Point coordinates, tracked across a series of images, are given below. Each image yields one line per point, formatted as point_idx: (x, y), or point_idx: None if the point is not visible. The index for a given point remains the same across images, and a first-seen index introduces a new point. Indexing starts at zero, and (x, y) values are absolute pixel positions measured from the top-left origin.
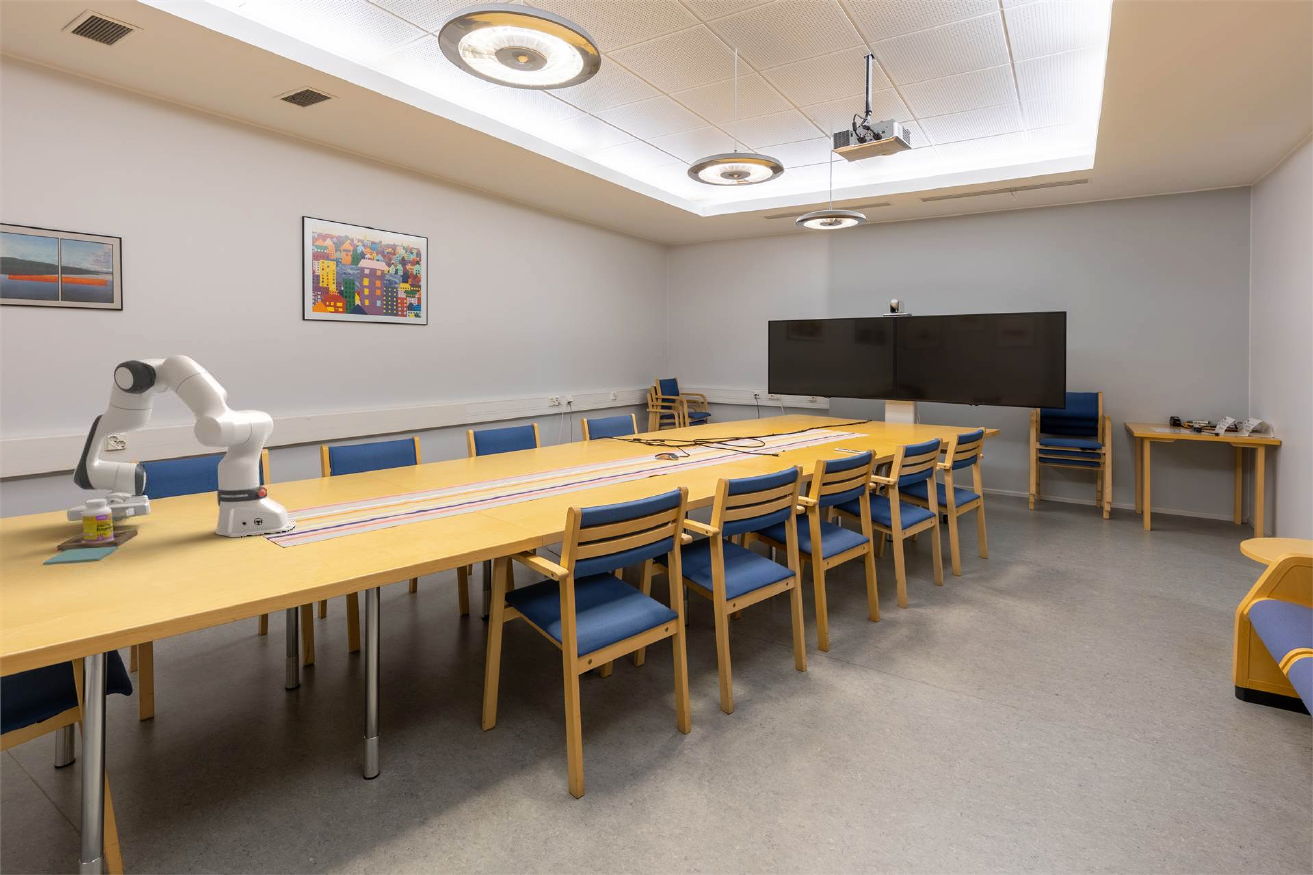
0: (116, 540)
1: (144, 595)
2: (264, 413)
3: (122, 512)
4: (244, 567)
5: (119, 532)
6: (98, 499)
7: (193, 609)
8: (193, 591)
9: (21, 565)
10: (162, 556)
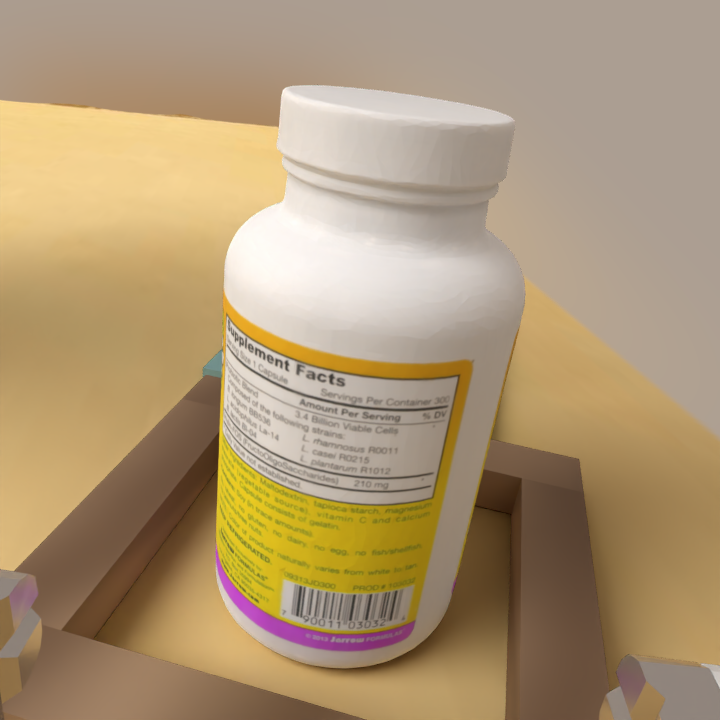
0: (206, 400)
1: (193, 148)
2: None
3: (9, 574)
4: None
5: (138, 655)
6: (386, 108)
7: (139, 117)
8: (111, 133)
9: (590, 356)
10: (64, 242)
